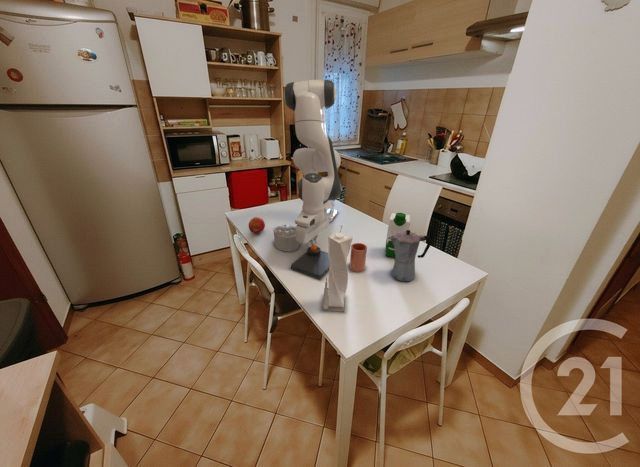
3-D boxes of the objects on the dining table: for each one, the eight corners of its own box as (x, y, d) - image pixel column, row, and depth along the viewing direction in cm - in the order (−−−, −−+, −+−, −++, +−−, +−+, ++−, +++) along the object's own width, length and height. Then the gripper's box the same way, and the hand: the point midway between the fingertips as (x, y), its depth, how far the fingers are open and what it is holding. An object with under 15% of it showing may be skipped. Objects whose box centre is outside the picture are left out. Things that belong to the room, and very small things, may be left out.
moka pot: (382, 267, 109) (388, 224, 100) (419, 268, 109) (429, 225, 99) (386, 281, 101) (393, 236, 91) (427, 282, 100) (438, 237, 91)
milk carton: (383, 256, 116) (389, 215, 107) (385, 246, 124) (391, 207, 115) (403, 260, 114) (411, 218, 104) (405, 250, 121) (412, 210, 112)
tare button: (312, 247, 117) (312, 244, 116) (318, 249, 115) (318, 246, 114) (309, 250, 114) (309, 247, 114) (314, 252, 113) (314, 249, 112)
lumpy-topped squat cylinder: (291, 236, 132) (290, 220, 128) (303, 247, 122) (303, 231, 118) (272, 241, 127) (270, 225, 123) (283, 254, 118) (281, 237, 114)
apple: (267, 229, 139) (265, 215, 136) (262, 236, 132) (261, 222, 128) (252, 228, 140) (250, 214, 136) (247, 235, 133) (245, 221, 129)
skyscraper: (325, 293, 94) (326, 223, 81) (347, 295, 94) (352, 224, 81) (322, 310, 87) (324, 236, 74) (347, 312, 86) (353, 237, 73)
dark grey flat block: (311, 251, 120) (311, 244, 118) (339, 260, 114) (339, 253, 112) (290, 268, 108) (290, 261, 106) (320, 279, 101) (320, 272, 100)
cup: (353, 261, 113) (355, 241, 108) (367, 266, 110) (369, 245, 105) (347, 269, 108) (348, 248, 103) (361, 273, 105) (363, 252, 100)
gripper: (319, 205, 116) (319, 232, 123) (292, 221, 101) (293, 252, 107) (332, 207, 113) (331, 236, 120) (306, 225, 98) (306, 256, 104)
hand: (313, 243), depth 113 cm, fingers closed
